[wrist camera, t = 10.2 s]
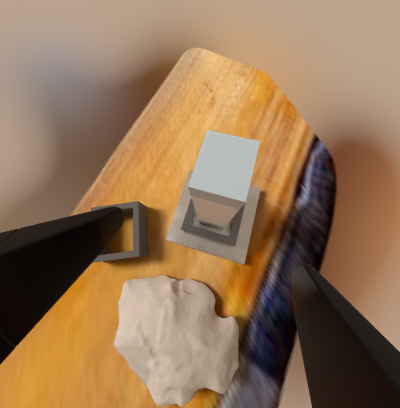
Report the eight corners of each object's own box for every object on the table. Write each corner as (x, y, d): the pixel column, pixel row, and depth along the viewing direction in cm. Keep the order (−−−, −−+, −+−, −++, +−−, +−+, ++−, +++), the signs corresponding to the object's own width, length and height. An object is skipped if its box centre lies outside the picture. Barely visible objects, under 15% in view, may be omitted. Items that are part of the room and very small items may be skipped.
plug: (222, 229, 20) (245, 202, 8) (199, 223, 20) (187, 186, 8) (229, 203, 21) (260, 141, 9) (207, 197, 21) (207, 129, 9)
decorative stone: (251, 308, 19) (148, 252, 22) (260, 314, 15) (136, 247, 19) (215, 431, 15) (97, 339, 18) (215, 477, 11) (71, 353, 15)
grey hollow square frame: (147, 255, 20) (139, 256, 18) (101, 261, 20) (87, 263, 18) (145, 206, 22) (138, 201, 20) (103, 212, 22) (91, 207, 20)
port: (242, 263, 20) (249, 267, 16) (167, 240, 21) (159, 238, 17) (258, 190, 22) (267, 180, 19) (190, 173, 23) (187, 160, 20)
